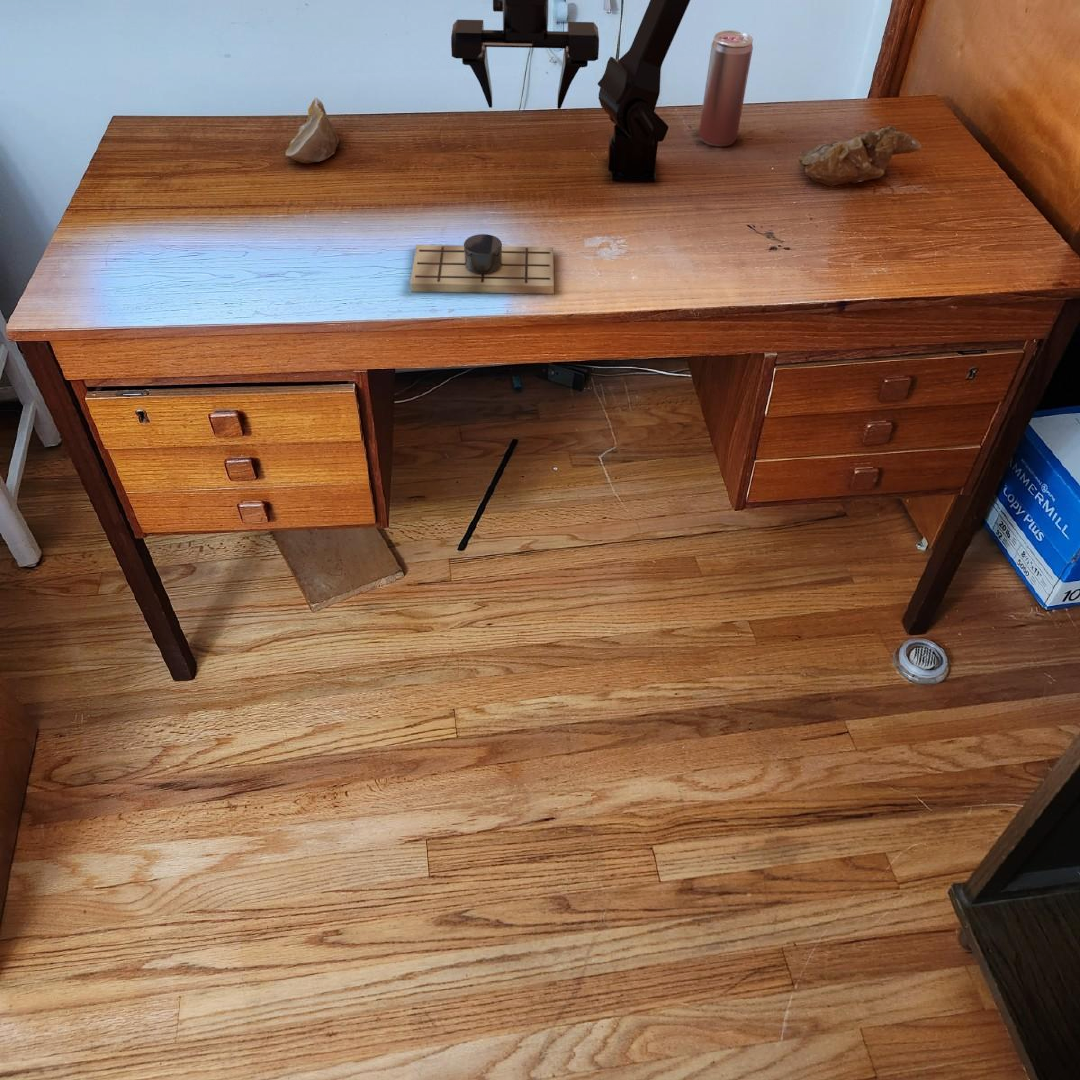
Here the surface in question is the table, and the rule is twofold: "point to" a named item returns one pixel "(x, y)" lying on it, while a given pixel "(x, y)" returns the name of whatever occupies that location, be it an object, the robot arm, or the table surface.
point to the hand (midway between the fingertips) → (524, 106)
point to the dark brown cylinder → (483, 253)
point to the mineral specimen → (856, 156)
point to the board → (516, 275)
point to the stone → (314, 137)
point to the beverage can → (725, 87)
